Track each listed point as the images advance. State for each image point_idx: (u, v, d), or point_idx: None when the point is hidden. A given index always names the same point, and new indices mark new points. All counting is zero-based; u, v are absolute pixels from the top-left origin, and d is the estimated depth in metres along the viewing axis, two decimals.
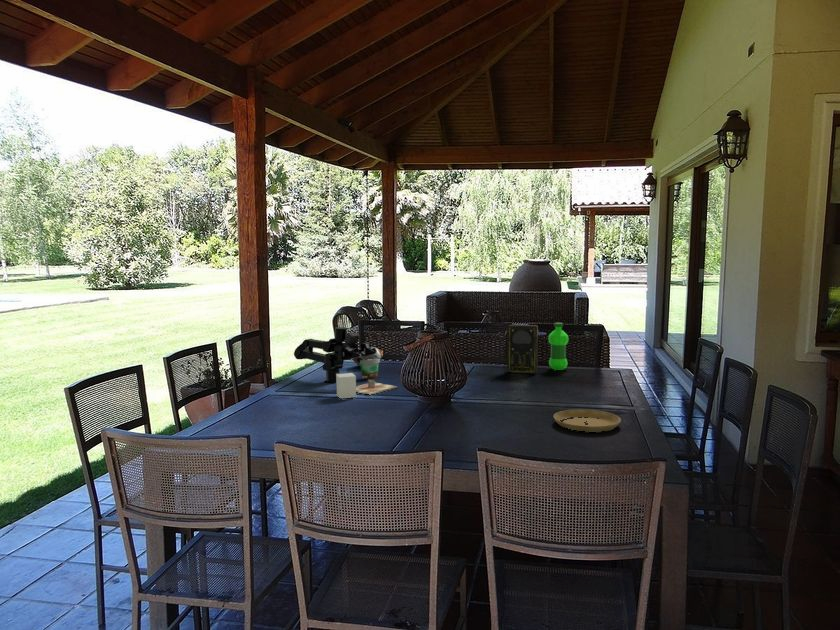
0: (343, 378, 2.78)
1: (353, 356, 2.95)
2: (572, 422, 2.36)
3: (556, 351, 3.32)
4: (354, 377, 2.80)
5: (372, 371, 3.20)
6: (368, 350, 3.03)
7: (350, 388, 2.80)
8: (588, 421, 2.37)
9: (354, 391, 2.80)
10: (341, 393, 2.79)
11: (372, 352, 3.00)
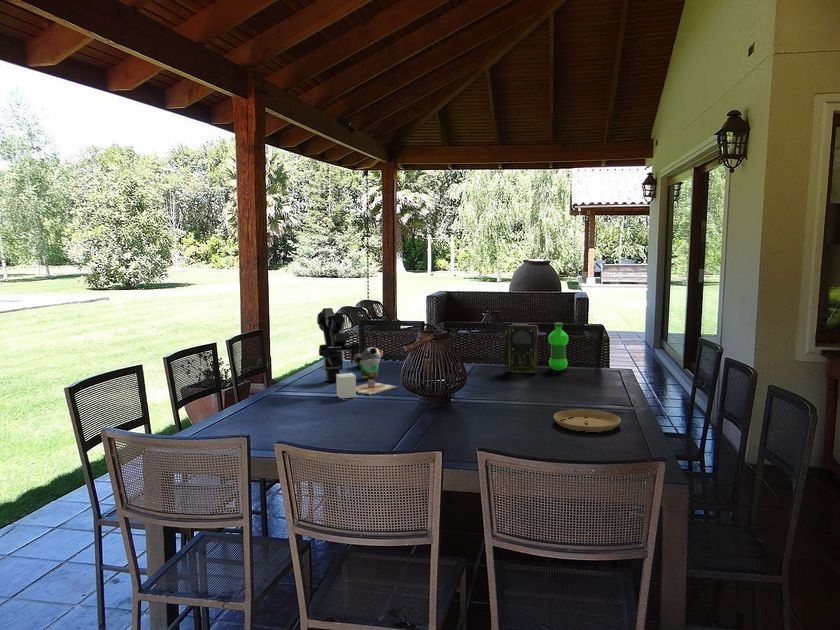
0: (343, 378, 2.78)
1: (328, 360, 2.90)
2: (572, 422, 2.36)
3: (556, 351, 3.32)
4: (354, 377, 2.80)
5: (372, 371, 3.20)
6: (351, 355, 2.93)
7: (350, 388, 2.80)
8: (588, 421, 2.37)
9: (354, 391, 2.80)
10: (341, 393, 2.79)
11: (351, 361, 2.91)
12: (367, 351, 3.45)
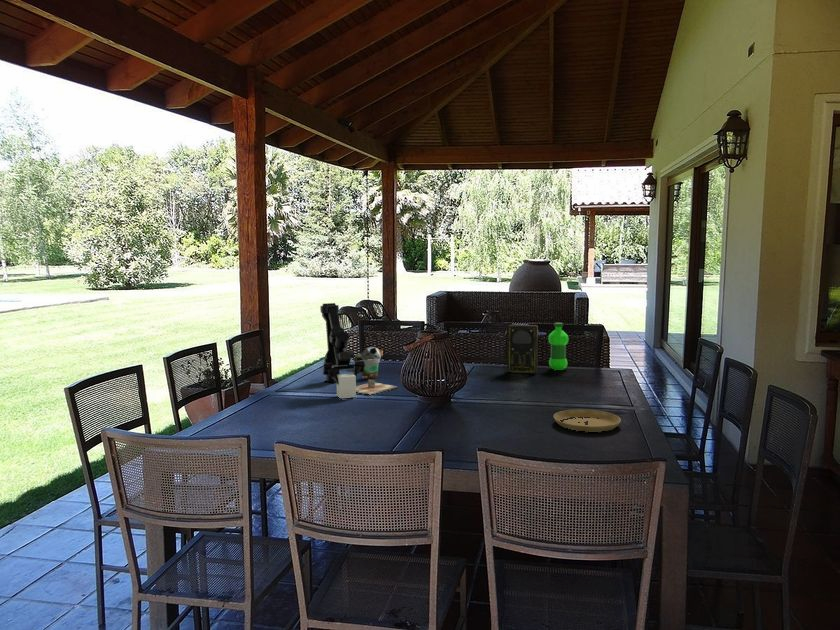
0: (343, 378, 2.78)
1: (334, 379, 2.82)
2: (572, 422, 2.36)
3: (556, 351, 3.32)
4: (354, 377, 2.80)
5: (372, 371, 3.20)
6: (354, 374, 2.85)
7: (350, 388, 2.80)
8: (588, 421, 2.37)
9: (354, 391, 2.80)
10: (341, 393, 2.79)
11: None
12: (367, 351, 3.45)
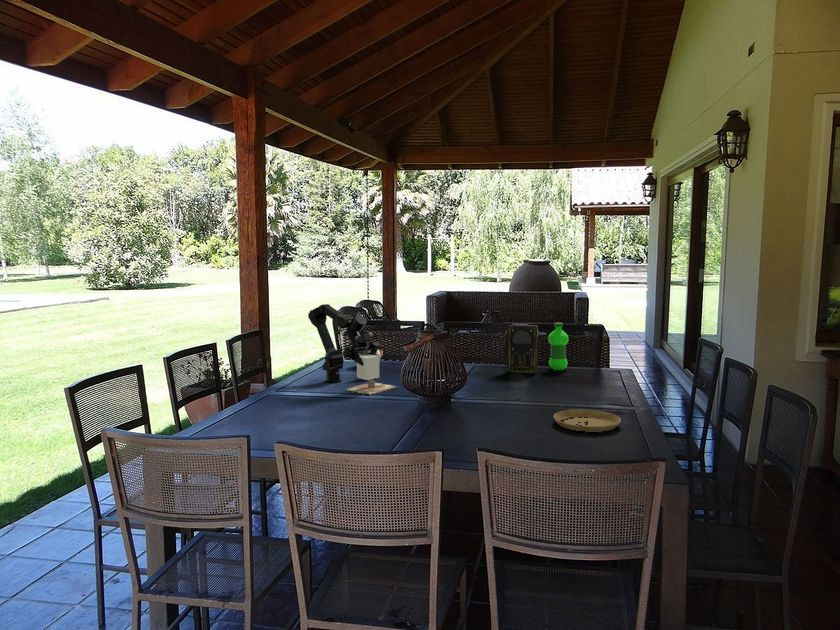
0: (369, 359, 2.88)
1: (357, 361, 2.90)
2: (572, 422, 2.36)
3: (556, 351, 3.32)
4: (378, 357, 2.92)
5: None
6: None
7: (375, 368, 2.91)
8: (588, 421, 2.37)
9: (378, 371, 2.92)
10: (368, 374, 2.89)
11: None
12: (367, 351, 3.46)
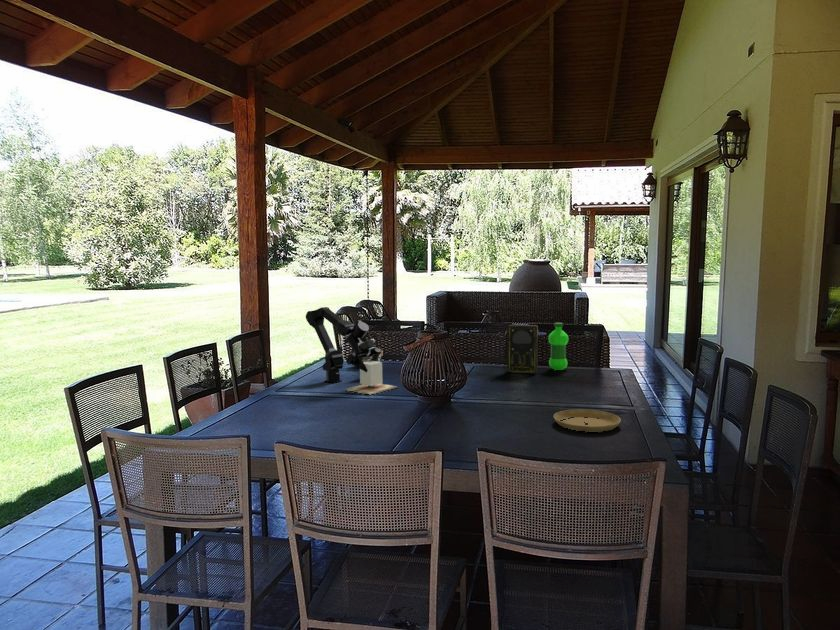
0: (373, 365, 2.92)
1: (361, 367, 2.93)
2: (572, 422, 2.36)
3: (556, 351, 3.32)
4: (381, 363, 2.95)
5: None
6: None
7: (378, 374, 2.94)
8: (588, 421, 2.37)
9: (381, 377, 2.96)
10: (372, 380, 2.92)
11: None
12: None
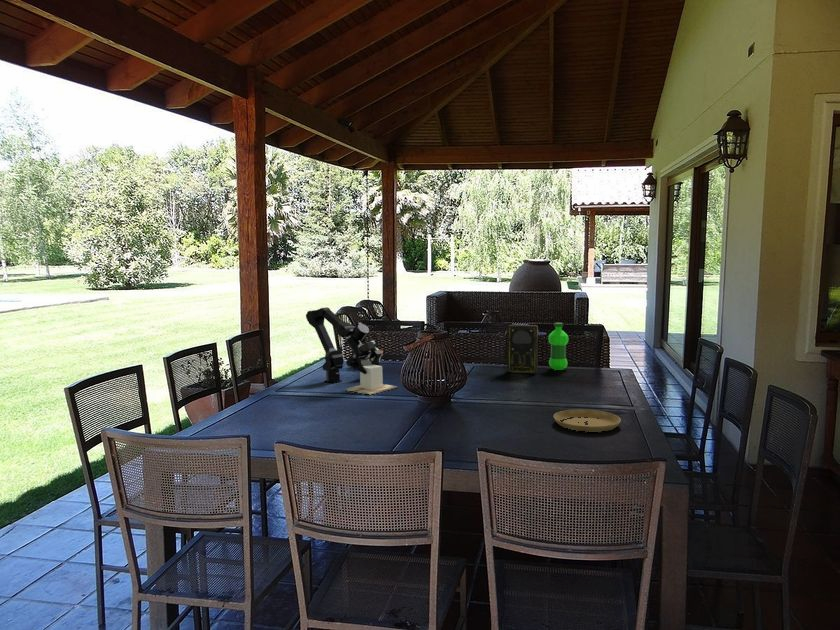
0: (373, 369, 2.92)
1: (360, 370, 2.92)
2: (572, 422, 2.36)
3: (556, 351, 3.32)
4: (381, 367, 2.95)
5: None
6: (376, 363, 3.00)
7: (378, 378, 2.94)
8: (588, 421, 2.37)
9: (381, 380, 2.96)
10: (372, 383, 2.92)
11: None
12: None
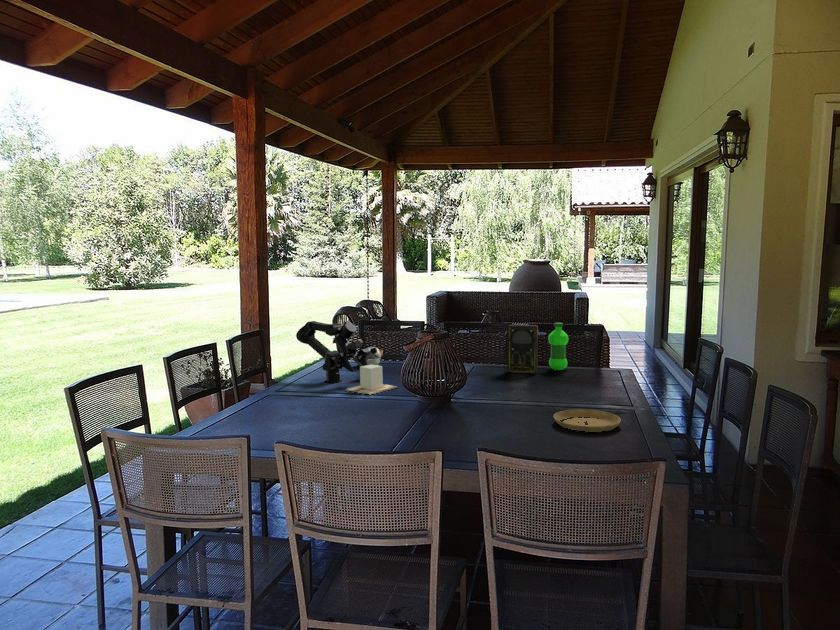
0: (373, 369, 2.92)
1: (347, 368, 2.98)
2: (572, 422, 2.36)
3: (556, 351, 3.32)
4: (381, 367, 2.95)
5: None
6: (363, 361, 3.06)
7: (378, 378, 2.94)
8: (588, 421, 2.37)
9: (381, 380, 2.96)
10: (372, 383, 2.92)
11: None
12: None
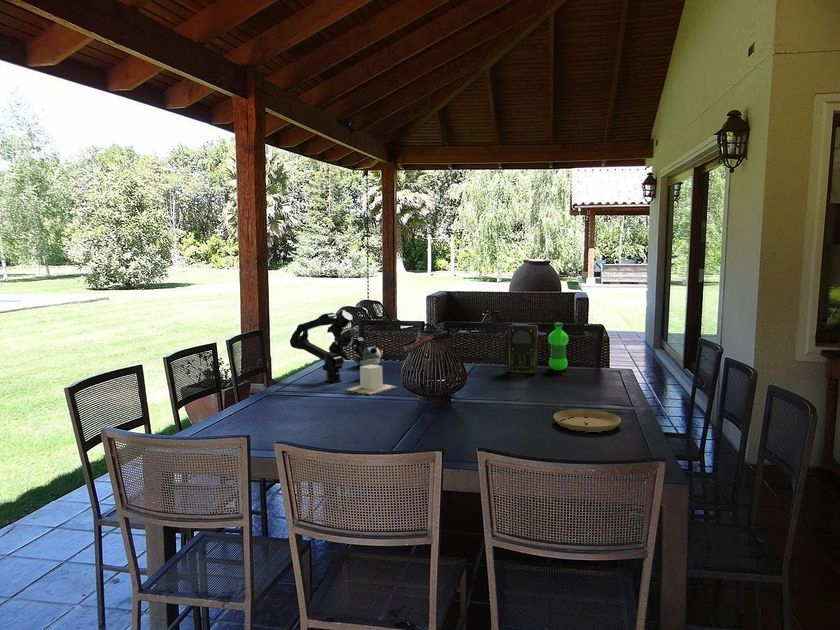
0: (373, 369, 2.92)
1: (342, 356, 3.01)
2: (572, 422, 2.36)
3: (556, 351, 3.32)
4: (381, 367, 2.95)
5: None
6: (358, 349, 3.08)
7: (378, 378, 2.94)
8: (588, 421, 2.37)
9: (381, 380, 2.96)
10: (372, 383, 2.92)
11: (361, 355, 3.07)
12: (368, 351, 3.46)
